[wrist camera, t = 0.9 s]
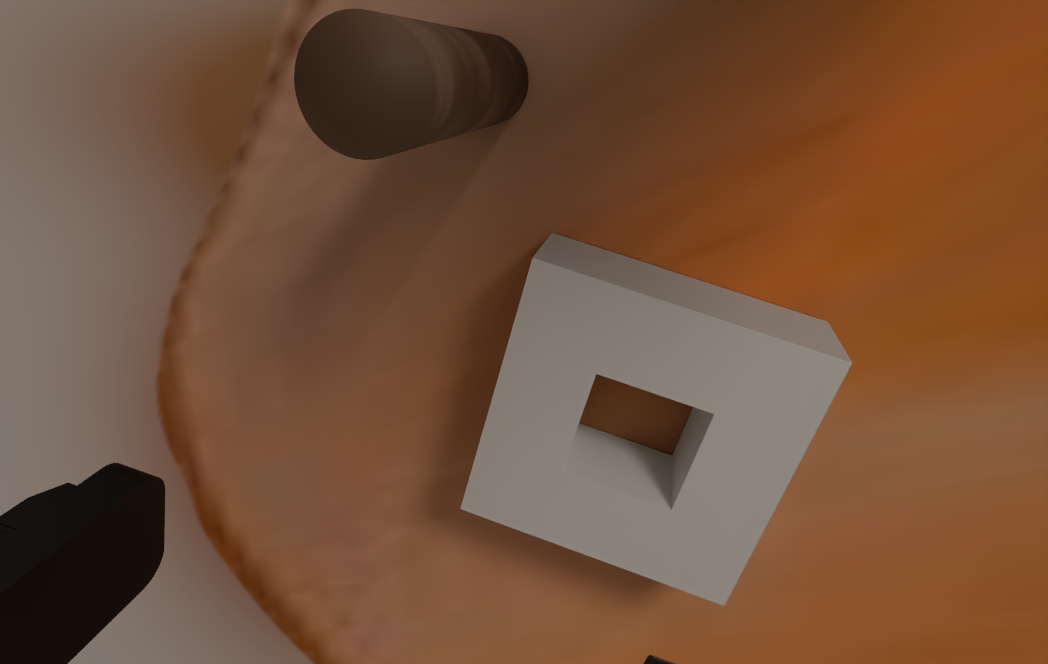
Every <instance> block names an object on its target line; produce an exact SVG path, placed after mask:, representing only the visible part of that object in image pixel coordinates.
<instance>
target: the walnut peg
mask: <svg viewBox="0 0 1048 664" xmlns="http://www.w3.org/2000/svg"><path fill="white" fill-rule="evenodd" d="M294 81H295V91H296V96H297V100H298V104H299V107H300V109H301V112H302V114H303V116H304V118H305V120H306V122H307V123H308V125H309V126H310V128H311V129H312V131H313V132H314V133H315V134H316V135H317V136H318V138H319V139H321V140H322V141H323V142H324V143H325V144H326V145H327V146H329V147H330V148H332V149H333V150H335V151H337V152H338V153H340V154H343V155H345V156H348V157H351V158H355V159H363V160H371V159H378V158H383V157H386V156H390V155H393V154H396V153H400V152H403V151H407V150H410V149H413V148H417V147H420V146H423V145H427V144H430V143H433V142H437V141H440V140H444V139H447V138H450V137H454V136H457V135H460V134H464V133H467V132H470V131H474V130H477V129H481V128H484V127H487V126H491V125H494V124H497V123H500V122H503V121H505V120H507V119H509V118H510V117H511V116H513V115H514V114H515V113H516V112H517V111H518V109H519V108H520V107H521V105H522V104H523V101H524V99H525V97H526V94H527V89H528V72H527V67H526V64H525V61H524V59H523V57H522V55H521V54H520V52H519V51H518V50H517V48H516V47H515V46H514V45H513V44H512V43H510V42H509V41H508V40H506V39H504V38H502V37H500V36H497V35H492V34H487V33H482V32H477V31H472V30H467V29H461V28H456V27H451V26H446V25H441V24H436V23H431V22H425V21H420V20H415V19H410V18H405V17H400V16H394V15H389V14H384V13H379V12H374V11H369V10H363V9H345V10H341V11H337V12H334V13H332V14H330V15H328V16H326V17H324V18H323V19H321V20H320V21H319V22H318V23H316V24H315V25H314V26H313V27H312V29H311V30H310V31H309V32H308V33H307V35H306V37H305V38H304V40H303V42H302V44H301V46H300V48H299V51H298V55H297V58H296V63H295V73H294Z"/></svg>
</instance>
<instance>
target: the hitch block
mask: <svg viewBox="0 0 1048 664" xmlns="http://www.w3.org/2000/svg"><path fill="white" fill-rule="evenodd" d="M851 364H852V361H851V360H850V358H849V356H848V355H847V353H846V351H845V350H844V348H843V346H842V345H841V343H840V341H839V340H838V338H837V336H836V335H835V333H834V331H833V330H832V328H831V326H830V325H829V323H828V322H827V321H824V320H821V319H818V318H815V317H811V316H808V315H805V314H802V313H799V312H796V311H793V310H790V309H787V308H784V307H781V306H778V305H774V304H771V303H768V302H765V301H762V300H759V299H756V298H753V297H750V296H747V295H744V294H740V293H737V292H734V291H731V290H728V289H725V288H722V287H719V286H716V285H713V284H710V283H706V282H703V281H700V280H697V279H694V278H691V277H688V276H685V275H682V274H679V273H676V272H672V271H669V270H666V269H663V268H660V267H657V266H654V265H651V264H648V263H645V262H642V261H639V260H635V259H632V258H629V257H626V256H623V255H620V254H617V253H614V252H611V251H608V250H605V249H601V248H598V247H595V246H592V245H589V244H586V243H583V242H580V241H577V240H574V239H571V238H567V237H564V236H561V235H558V234H555V233H551V234H550V236H549V237H548V238H547V240H546V241H545V242H544V244H543V245H542V246H541V247H540V249H539V250H538V251H537V253H536V254H535V255H534V256H533V258H532V261H531V265H530V268H529V272H528V275H527V279H526V282H525V286H524V289H523V293H522V296H521V300H520V303H519V306H518V310H517V313H516V317H515V320H514V324H513V327H512V331H511V334H510V338H509V341H508V345H507V348H506V352H505V355H504V359H503V362H502V366H501V369H500V373H499V376H498V380H497V383H496V387H495V390H494V393H493V397H492V400H491V404H490V407H489V411H488V414H487V418H486V421H485V425H484V428H483V432H482V435H481V439H480V442H479V446H478V449H477V453H476V456H475V460H474V463H473V467H472V470H471V474H470V477H469V480H468V484H467V487H466V491H465V494H464V498H463V501H462V505H461V508H460V509H462V510H464V511H467V512H470V513H473V514H475V515H478V516H481V517H484V518H486V519H489V520H492V521H494V522H497V523H500V524H503V525H505V526H508V527H511V528H513V529H516V530H519V531H522V532H524V533H527V534H530V535H533V536H535V537H538V538H541V539H543V540H546V541H549V542H552V543H554V544H557V545H560V546H563V547H565V548H568V549H571V550H573V551H576V552H579V553H582V554H584V555H587V556H590V557H592V558H595V559H598V560H601V561H603V562H606V563H609V564H612V565H614V566H617V567H620V568H622V569H625V570H628V571H631V572H633V573H636V574H639V575H642V576H644V577H647V578H650V579H652V580H655V581H658V582H661V583H663V584H666V585H669V586H671V587H674V588H677V589H680V590H682V591H685V592H688V593H691V594H693V595H696V596H699V597H701V598H704V599H707V600H710V601H712V602H715V603H718V604H721V605H723V606H724V605H725V603H726V601H727V600H728V598H729V596H730V594H731V592H732V590H733V588H734V586H735V584H736V583H737V581H738V579H739V577H740V575H741V573H742V571H743V569H744V567H745V565H746V564H747V562H748V560H749V558H750V556H751V554H752V552H753V550H754V548H755V546H756V545H757V543H758V541H759V539H760V537H761V535H762V533H763V531H764V529H765V527H766V526H767V524H768V522H769V520H770V518H771V516H772V514H773V512H774V510H775V508H776V507H777V505H778V503H779V501H780V499H781V497H782V495H783V493H784V491H785V489H786V488H787V486H788V484H789V482H790V480H791V478H792V476H793V474H794V472H795V471H796V469H797V467H798V465H799V463H800V461H801V459H802V457H803V455H804V453H805V452H806V450H807V448H808V446H809V444H810V442H811V440H812V438H813V436H814V434H815V433H816V431H817V429H818V427H819V425H820V423H821V421H822V419H823V417H824V415H825V414H826V412H827V410H828V408H829V406H830V404H831V402H832V400H833V398H834V396H835V395H836V393H837V391H838V389H839V387H840V385H841V383H842V381H843V379H844V378H845V376H846V374H847V372H848V370H849V368H850V366H851ZM596 374H598V375H601V376H604V377H607V378H610V379H613V380H616V381H619V382H622V383H625V384H628V385H630V386H633V387H636V388H639V389H642V390H645V391H648V392H651V393H654V394H657V395H660V396H663V397H666V398H669V399H671V400H674V401H677V402H680V403H683V404H686V405H689V406H692V407H693V408H692V411H691V413H690V415H689V418H688V420H687V422H686V425H685V427H684V429H683V431H682V434H681V436H680V438H679V441H678V443H677V445H676V448H675V450H674V452H673V455H669V454H666V453H663V452H660V451H658V450H655V449H652V448H649V447H646V446H643V445H640V444H638V443H635V442H632V441H629V440H626V439H623V438H620V437H618V436H615V435H612V434H609V433H606V432H603V431H600V430H597V429H595V428H592V427H589V426H586V425H583V424H580V423H579V422H580V419H581V416H582V413H583V410H584V408H585V405H586V402H587V399H588V396H589V393H590V391H591V388H592V385H593V382H594V379H595V377H596Z"/></svg>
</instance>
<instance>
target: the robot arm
mask: <svg viewBox="0 0 1048 664" xmlns="http://www.w3.org/2000/svg"><path fill="white" fill-rule="evenodd" d="M164 527H165V485H164V482H163V480H162V479H161V478H159V477H156V476H153V475H150V474H147V473H144V472H142V471H139V470H136V469H133V468H131V467H128V466H125V465H122V464H119V463H113V464H109V465H107V466H105V467H103V468H102V469H100V470H99V471H98V472H96V473H95V474H93V475H92V476H90V477H89V478H87V479H86V480H85V481H83V482H82V483H81V484H79V485H78V486H76V485H73V484H70V483H66V484H63V485H61V486H58V487H55V488H53V489H50V490H47V491H45V492H42V493H40V494H37V495H34V496H31V497H29V498H27V499H26V500H24V501H22V502H21V503H19V504H18V505H16V506H15V507H13V508H12V509H10V510H9V511H7V512H6V513H4V514H3V515H1V516H0V664H68V662H70V661H71V659H73V658H74V657H75V656H76V655H77V654H78V653H79V652H80V651H81V650H82V649H83V648H84V647H85V646H86V645H87V644H88V643H89V642H90V641H91V640H92V639H93V638H94V637H95V636H96V635H97V634H98V633H99V632H100V631H101V630H102V629H103V628H104V627H105V626H106V625H107V624H108V623H109V622H110V621H112V619H113V618H115V617H116V616H117V615H118V613H119V612H121V611H122V610H123V609H124V608H125V607H126V605H128V604H129V603H130V602H131V601H132V600H133V599H134V598H135V597H136V596H137V595H138V594H139V593H140V592H141V591H142V590H143V589H144V588H145V587H146V585H147V584H148V583H149V582H150V580H151V579H152V578H153V576H154V575H155V572H156V571H157V569H158V567H159V565H160V563H161V560H162V557H163V552H164ZM644 664H675V663H672V662H669V661H666V660H663V659H661V658H658V657H655V656H652V655H649V656H648V657H647V659H646V660H645V662H644Z"/></svg>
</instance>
